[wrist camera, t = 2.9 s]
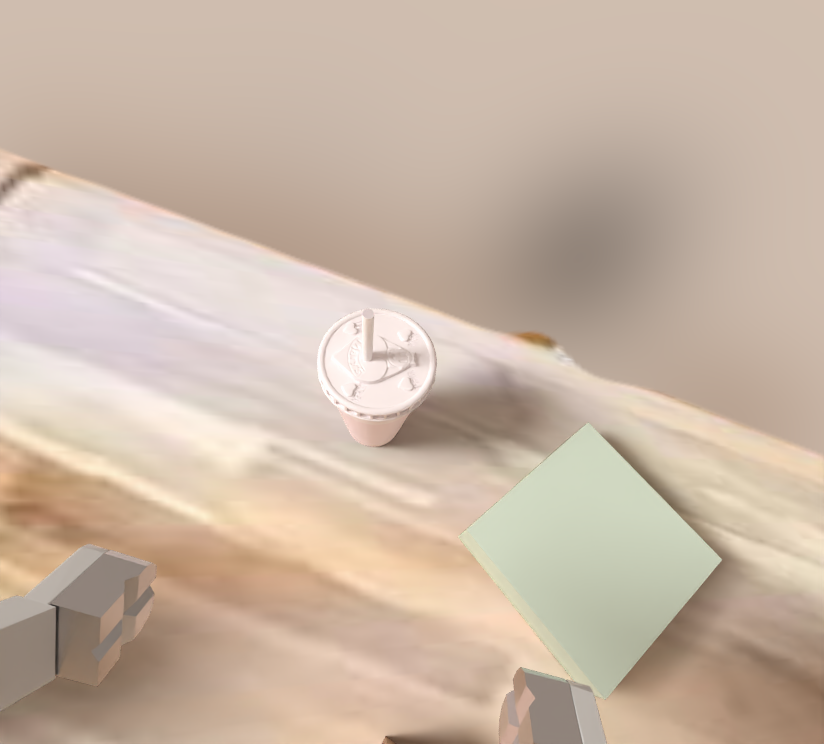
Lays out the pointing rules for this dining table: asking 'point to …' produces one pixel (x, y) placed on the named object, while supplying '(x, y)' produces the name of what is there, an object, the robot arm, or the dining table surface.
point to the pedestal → (591, 558)
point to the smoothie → (376, 371)
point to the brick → (388, 741)
